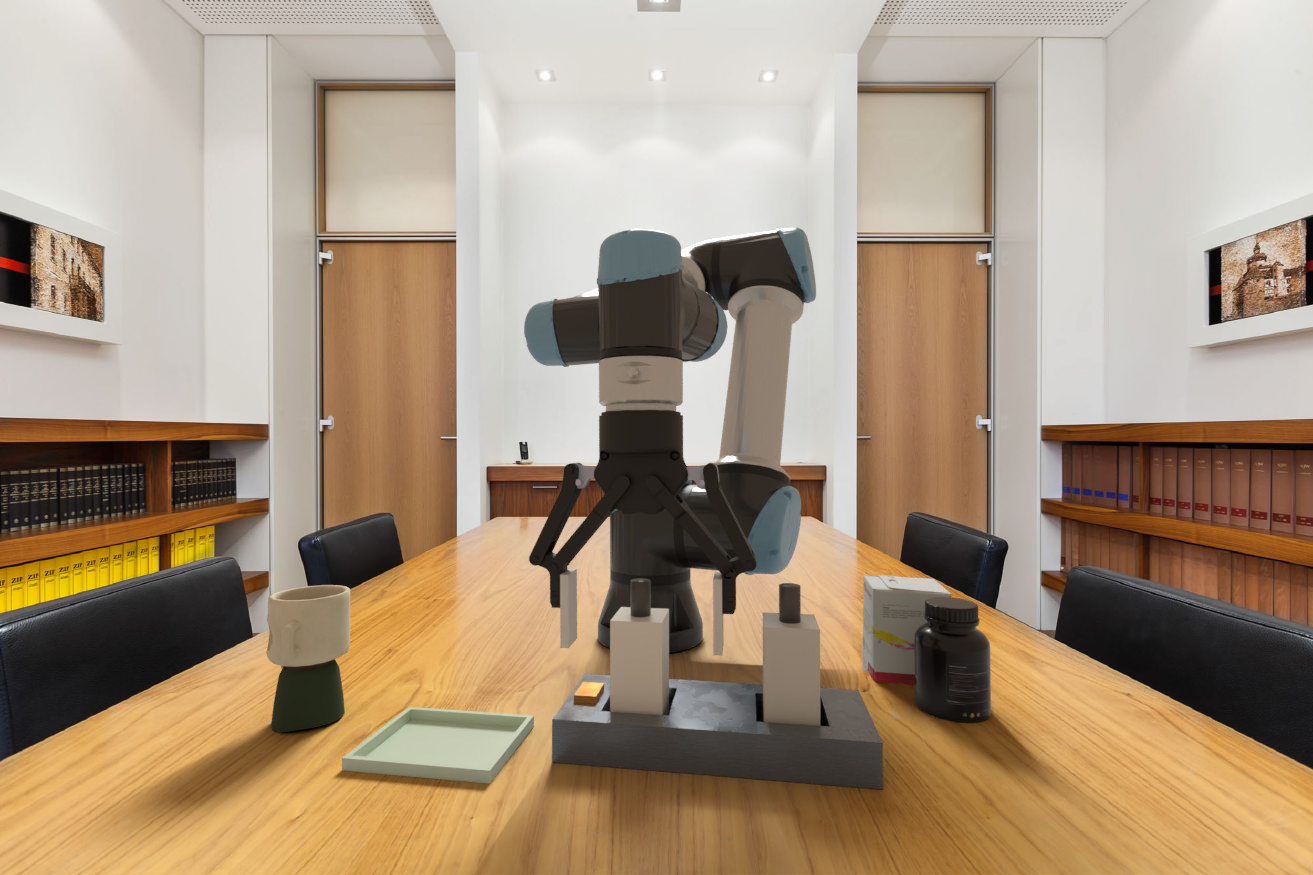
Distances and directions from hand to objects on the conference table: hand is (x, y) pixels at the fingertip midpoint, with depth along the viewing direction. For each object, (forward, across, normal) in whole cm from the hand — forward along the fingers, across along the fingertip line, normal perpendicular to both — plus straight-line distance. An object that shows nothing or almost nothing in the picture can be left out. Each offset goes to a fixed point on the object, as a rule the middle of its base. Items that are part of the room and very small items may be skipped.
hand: (642, 646), depth 54 cm
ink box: (+10, +27, +20) cm, 36 cm away
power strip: (+9, +6, 0) cm, 11 cm away
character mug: (+10, -34, 0) cm, 35 cm away
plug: (+8, 0, 0) cm, 8 cm away
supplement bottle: (+10, +29, +10) cm, 33 cm away
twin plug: (+8, +13, 0) cm, 15 cm away
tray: (+9, -18, -2) cm, 20 cm away
